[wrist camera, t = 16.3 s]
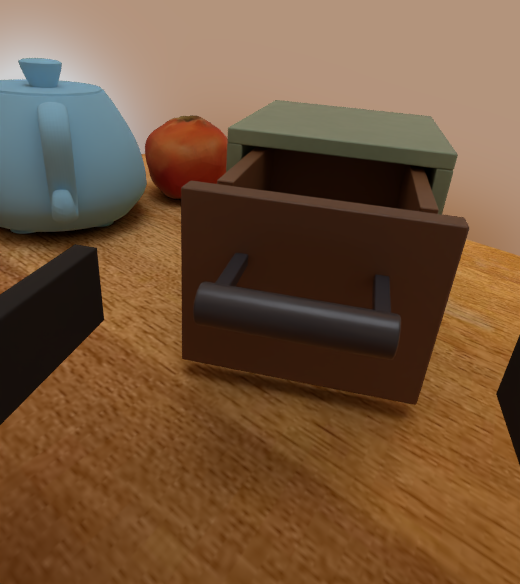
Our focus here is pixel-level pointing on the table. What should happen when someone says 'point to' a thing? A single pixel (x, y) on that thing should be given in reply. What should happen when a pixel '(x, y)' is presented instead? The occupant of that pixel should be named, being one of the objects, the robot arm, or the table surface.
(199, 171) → the tomato
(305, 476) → the table surface
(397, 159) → the cabinet
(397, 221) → the drawer
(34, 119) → the teapot
